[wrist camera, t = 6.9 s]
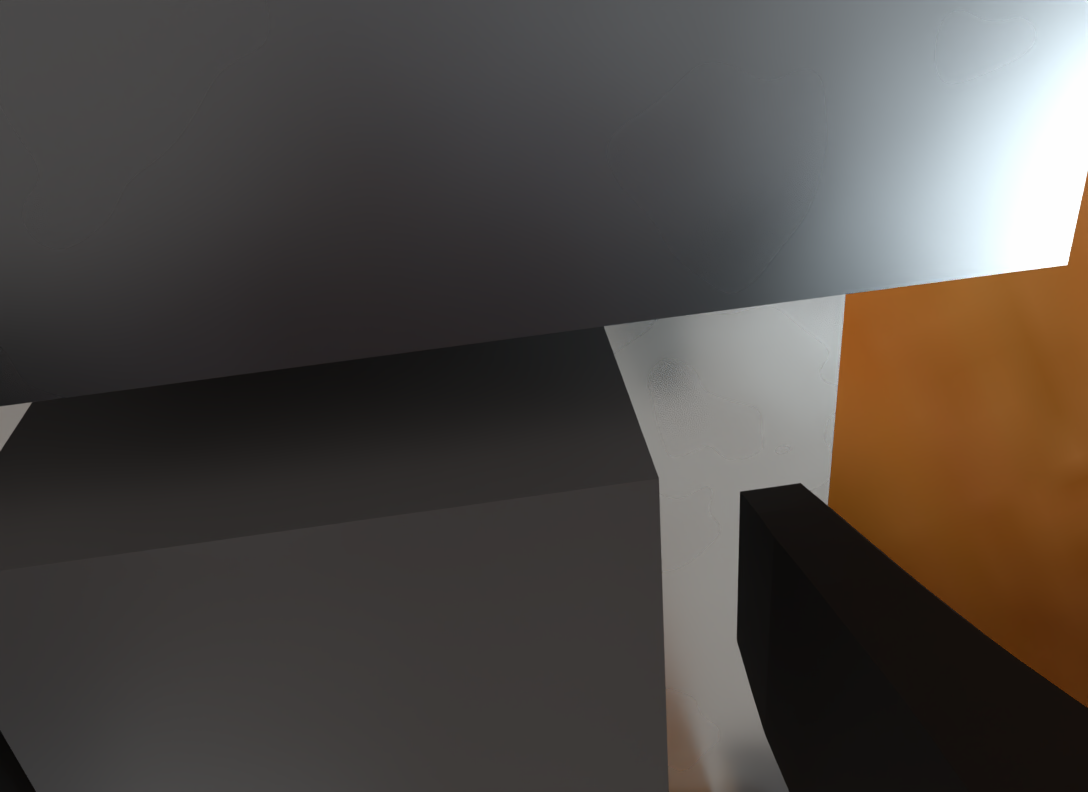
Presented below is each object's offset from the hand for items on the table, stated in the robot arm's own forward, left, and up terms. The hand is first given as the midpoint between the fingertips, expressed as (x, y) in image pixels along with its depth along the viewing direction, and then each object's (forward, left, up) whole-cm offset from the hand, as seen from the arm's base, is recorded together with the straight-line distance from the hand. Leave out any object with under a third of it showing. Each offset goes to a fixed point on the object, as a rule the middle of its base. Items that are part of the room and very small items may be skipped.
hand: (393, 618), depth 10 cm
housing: (0, 0, -2) cm, 3 cm away
